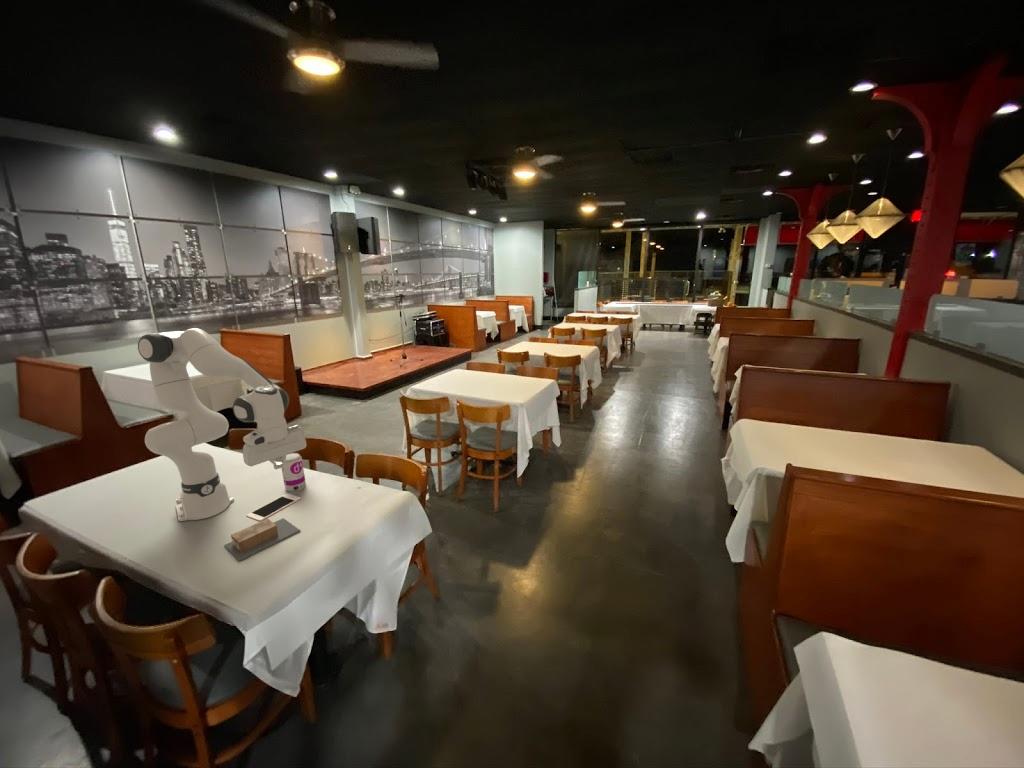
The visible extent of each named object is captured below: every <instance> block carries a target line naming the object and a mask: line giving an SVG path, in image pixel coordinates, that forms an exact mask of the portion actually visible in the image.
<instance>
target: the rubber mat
mask: <svg viewBox="0 0 1024 768" xmlns="http://www.w3.org/2000/svg"><path fill="white" fill-rule="evenodd" d="M273 523H274V524H275V525H277V531H278V535H277V536H275V537H273V538H271V539H269V540H267V541H265V542H263V543H261V544H259V545H256V546H254V547H252V548H250V549H248V550H246V551H244V552H242V553H241V552H240V551H239V550H238V549H237V548H236V547H235V546H234V545H233V542H232V541H229V542H228V543H226V544H224V545H223V546H224V548H226V550H227V549H228V550H229V551H228V550H227V551H228V552H229V553H231V555H232V556H234V557H235V558H236V560H238V561H239V562H241V561H244V560H247V558H249V557H251V556H253V555H256V554H257V553H260V552H262V551H264V550H266V549H267V548H270V547H272V546H274V545H276V544H278V543H280V542H282V541H284V540H286V539H288V538H290V537H292V536H294V535H296V534H298V533H300V532H301V529H300V528H298V527H296V526H295V525H293V524H292V523H291V522H289V521H288V520H287V519H285V518H284V517H283V518H280V519H279V520H276V521H274V522H273Z"/></svg>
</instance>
